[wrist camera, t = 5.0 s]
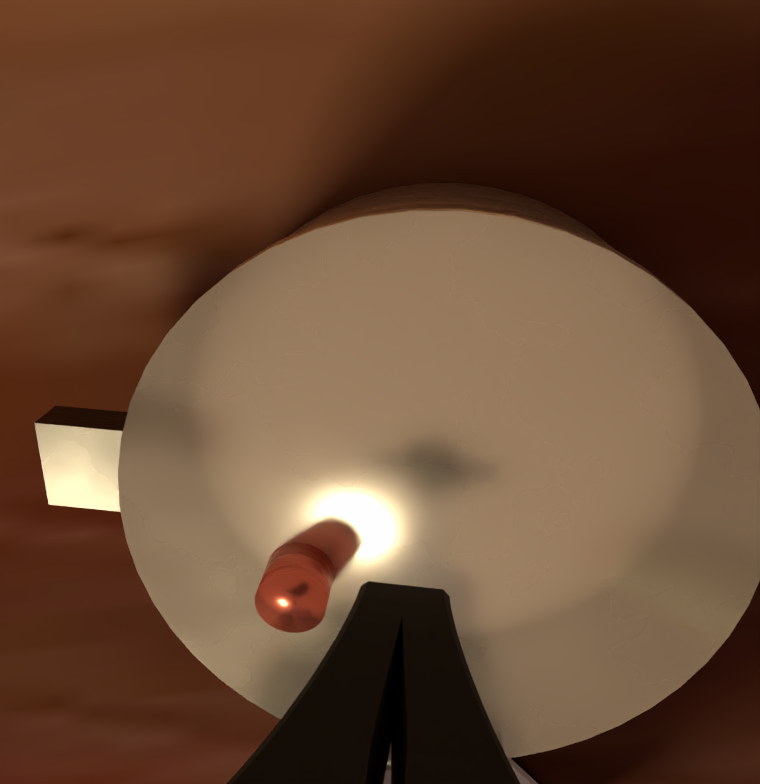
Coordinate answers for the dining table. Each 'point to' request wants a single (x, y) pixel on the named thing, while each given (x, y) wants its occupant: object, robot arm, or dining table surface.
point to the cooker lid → (449, 464)
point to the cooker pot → (104, 428)
